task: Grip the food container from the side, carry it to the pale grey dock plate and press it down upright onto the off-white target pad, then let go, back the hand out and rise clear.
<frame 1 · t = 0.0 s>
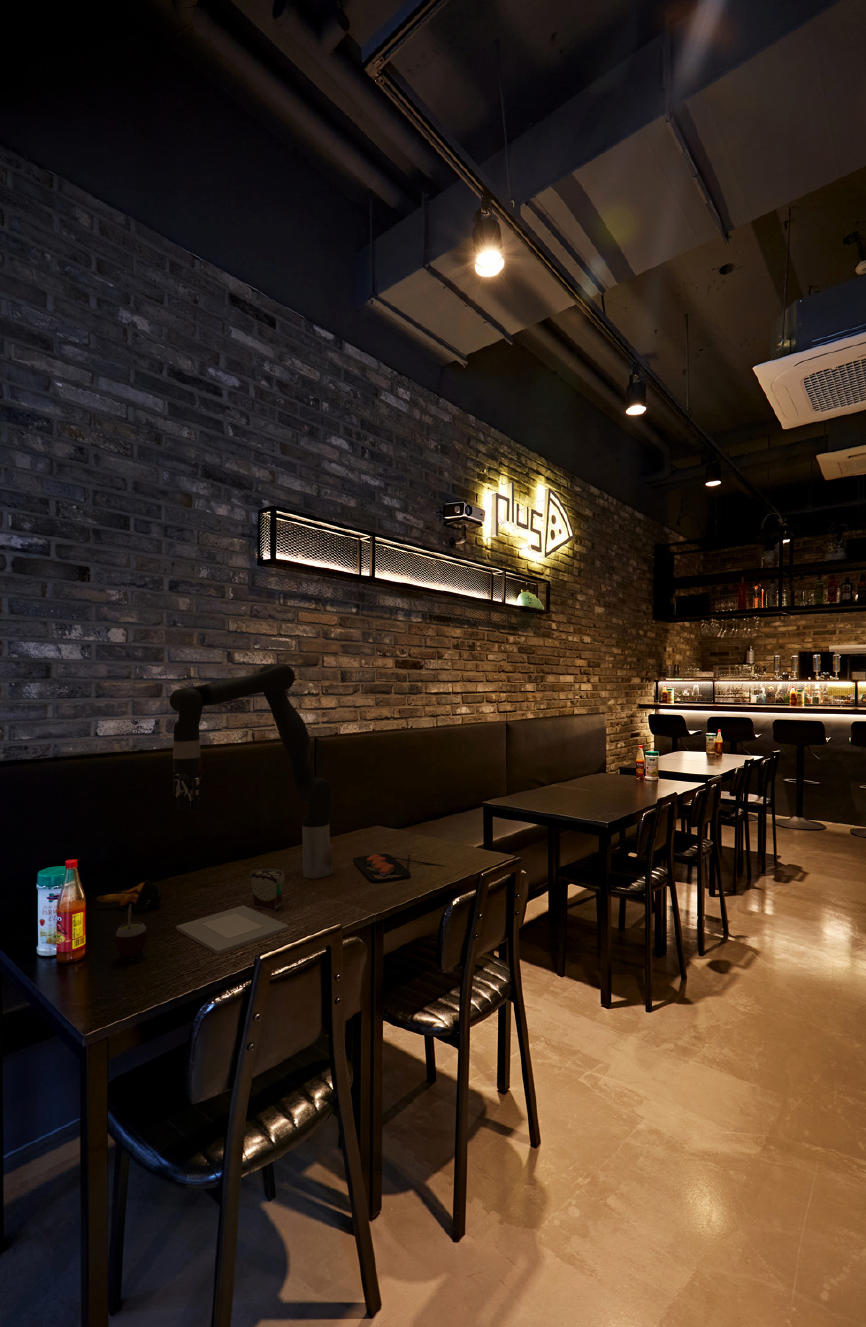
hand: (187, 811, 179), 29 cm above the table, tool pointing down, fingers open, 8 cm apart
mate gourd: (132, 960, 147), on the table
dock: (232, 929, 164), on the table
fried food: (131, 909, 182), on the table
sushi plate: (401, 868, 217), on the table
food container: (272, 906, 182), on the table
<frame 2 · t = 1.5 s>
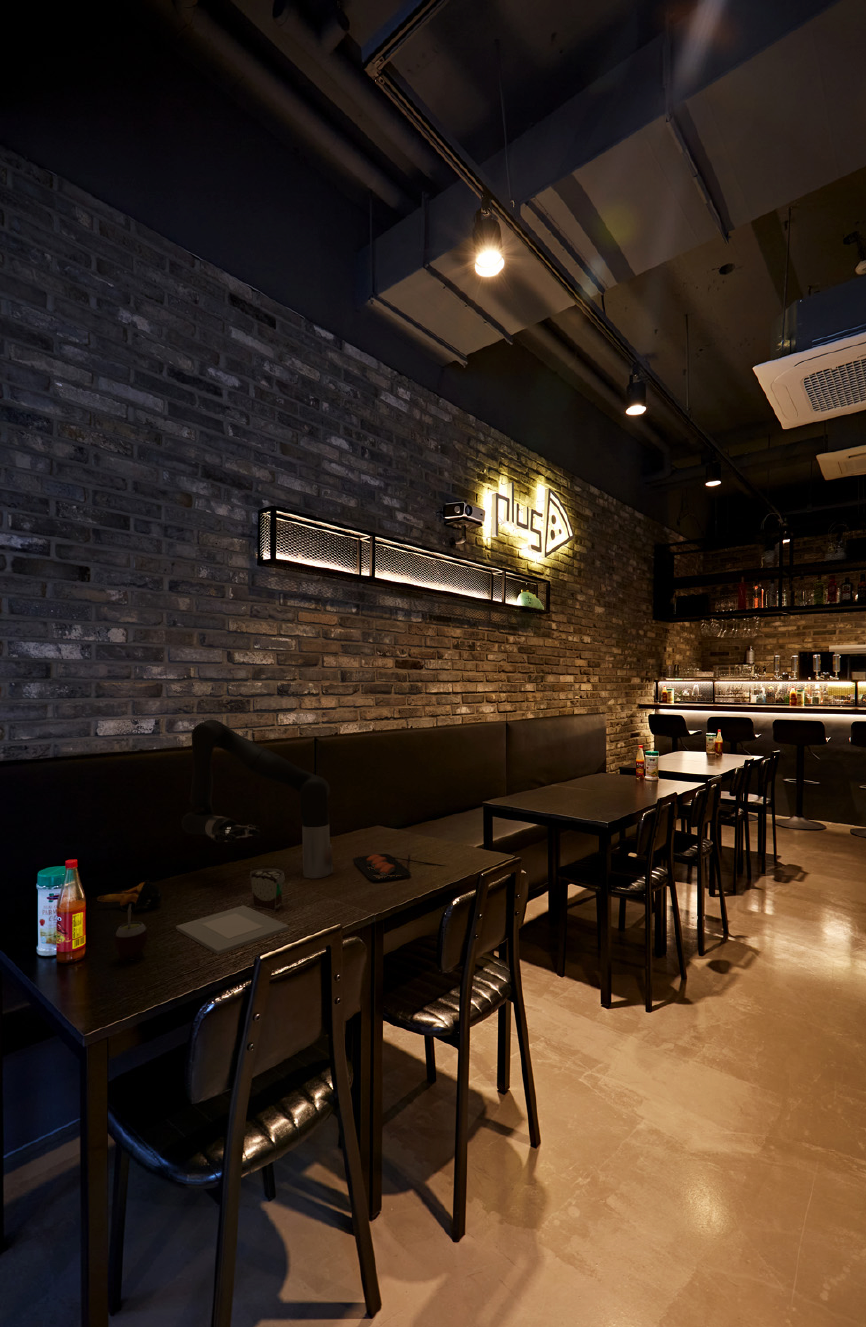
hand: (247, 836, 192), 18 cm above the table, tool horizontal, fingers open, 8 cm apart
nothing on the table moved.
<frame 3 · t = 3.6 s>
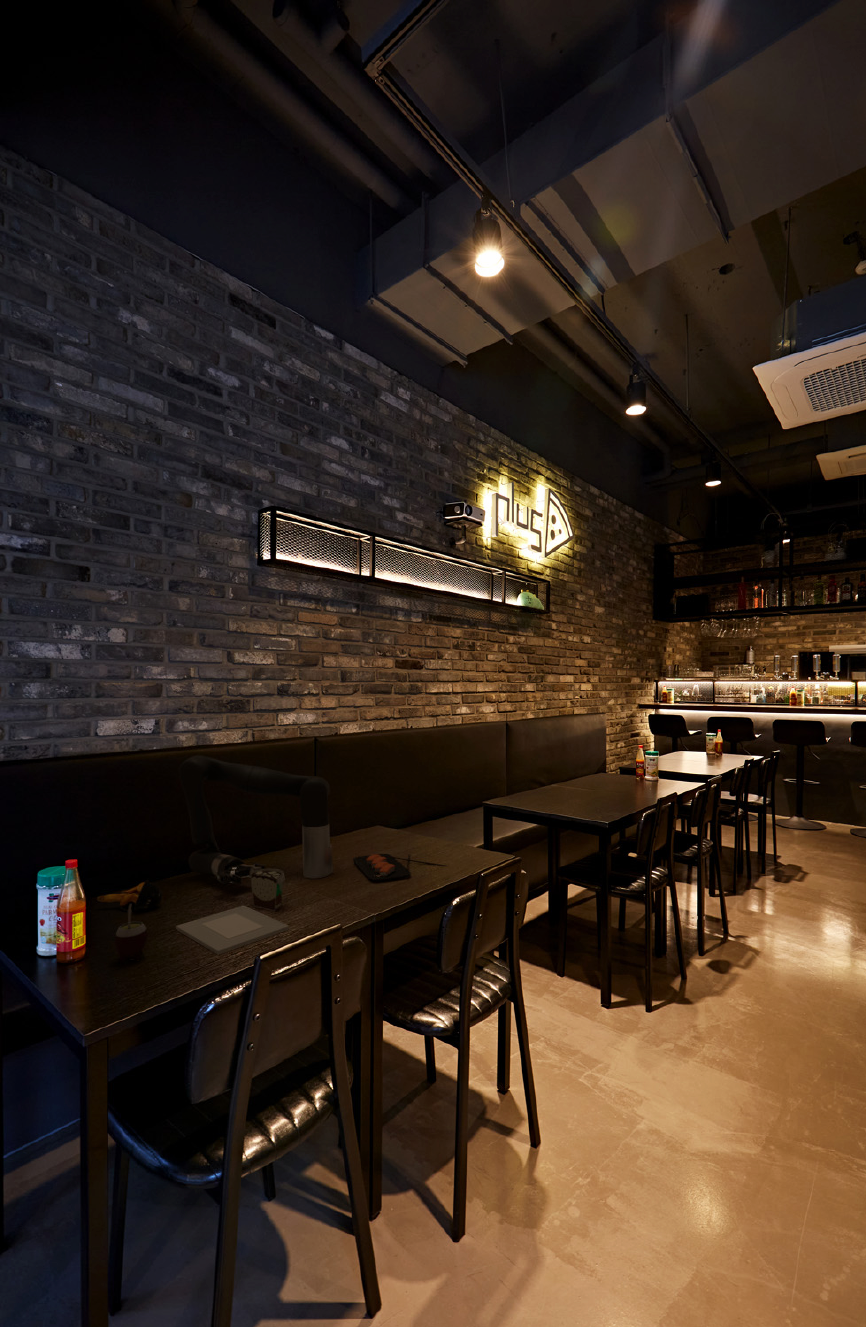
hand: (252, 877, 190), 6 cm above the table, tool horizontal, fingers open, 8 cm apart
nothing on the table moved.
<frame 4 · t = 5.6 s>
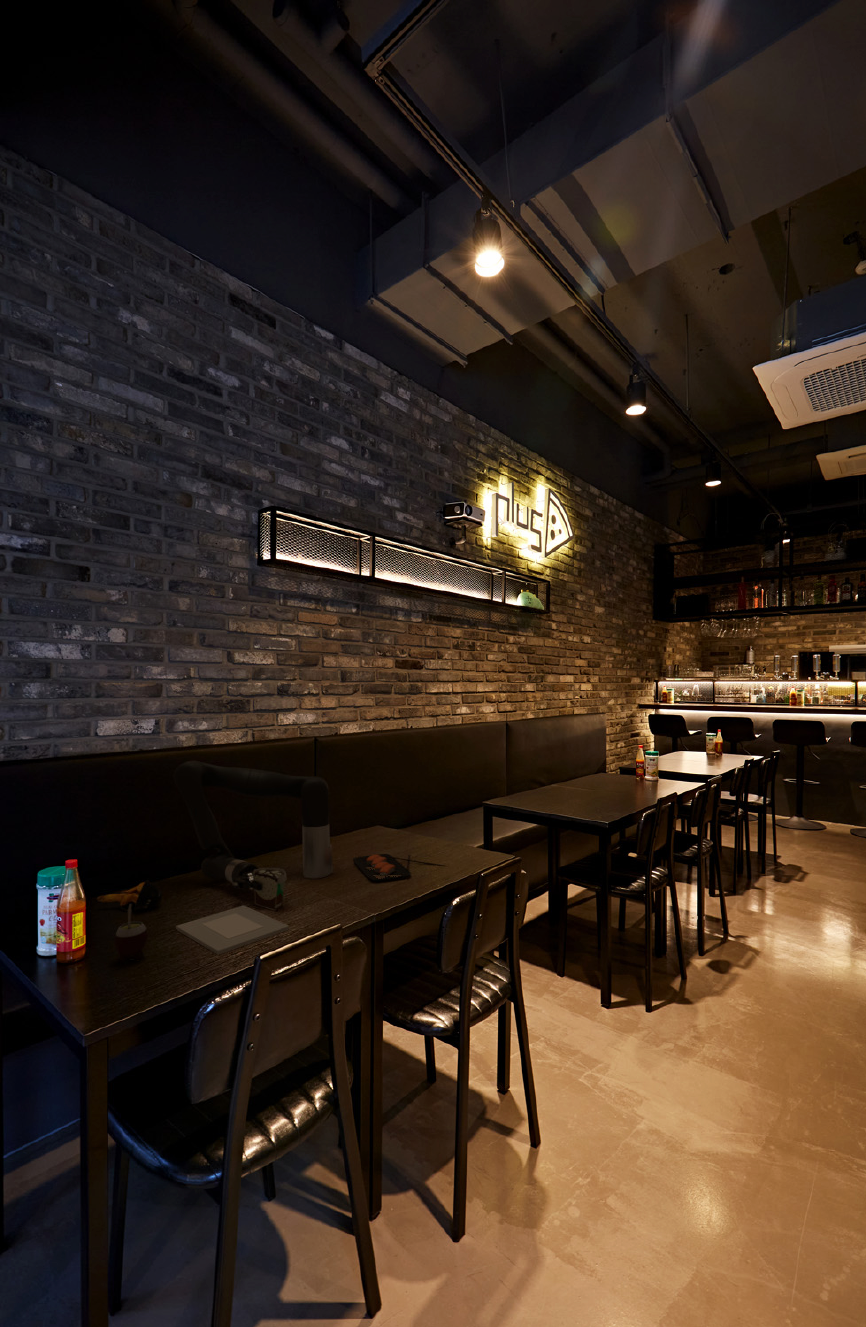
hand: (269, 884, 182), 6 cm above the table, tool horizontal, fingers open, 5 cm apart
food container: (273, 905, 182), on the table, touching gripper
everything else where it was.
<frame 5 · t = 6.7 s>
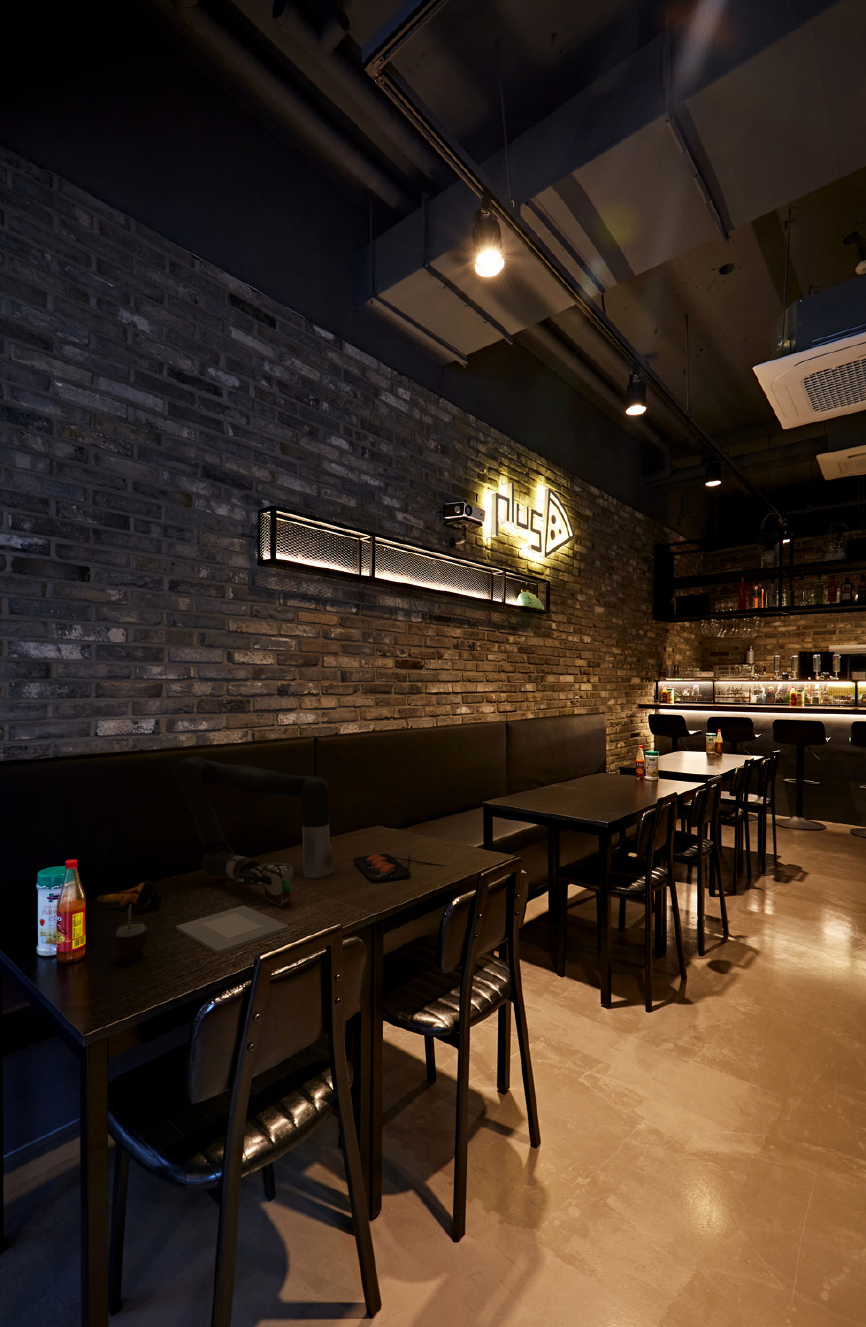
hand: (272, 881, 182), 7 cm above the table, tool horizontal, fingers closed on food container
food container: (281, 899, 184), point 1 cm above the table, touching gripper
everything else where it was.
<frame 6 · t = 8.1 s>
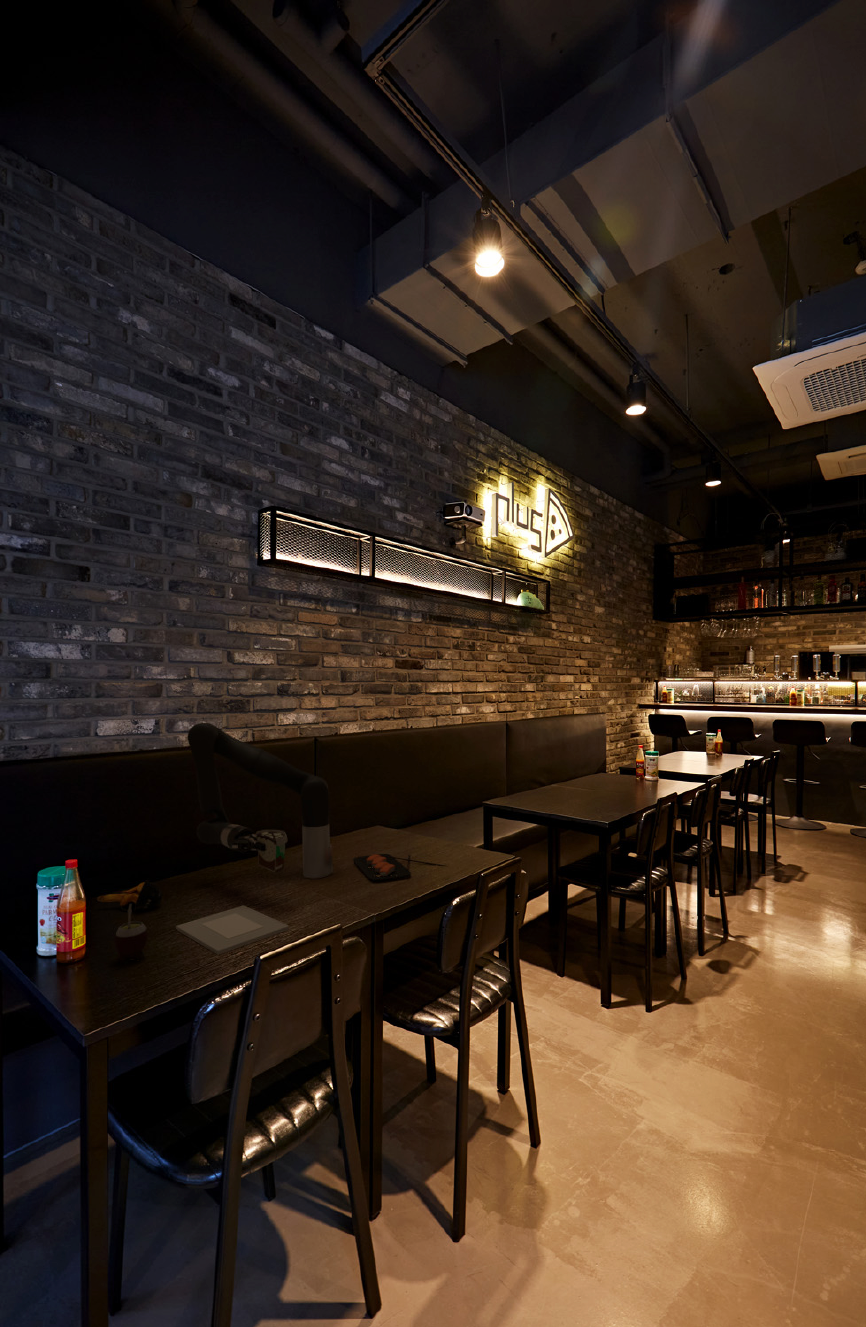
hand: (266, 847, 181), 18 cm above the table, tool horizontal, fingers closed on food container
food container: (275, 866, 182), point 11 cm above the table, touching gripper
everything else where it was.
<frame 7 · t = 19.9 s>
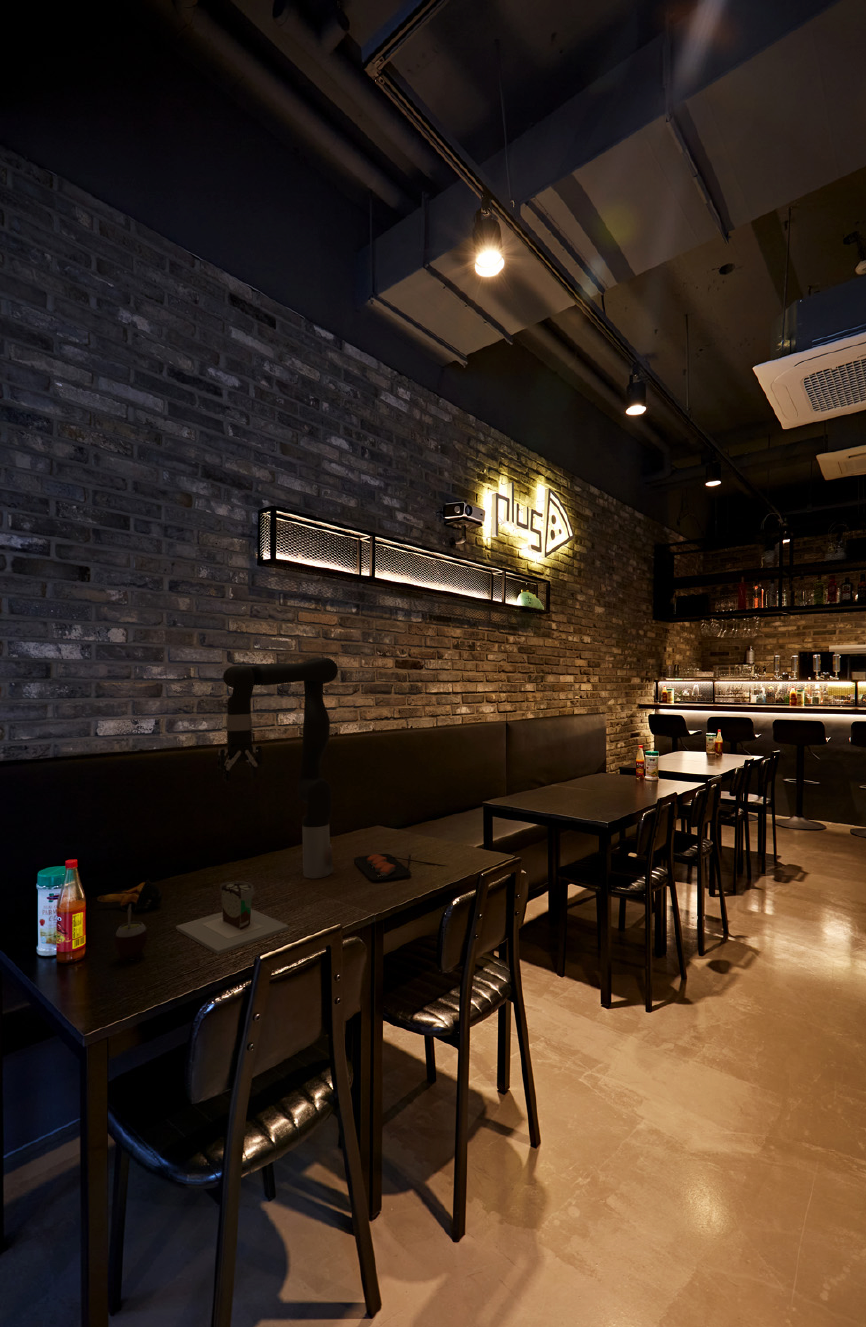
hand: (240, 780, 191), 36 cm above the table, tool pointing down, fingers open, 8 cm apart
food container: (241, 923, 166), point 1 cm above the table, touching dock
everything else where it was.
at the end: food container inside the target area on the dock (2.7 cm from its centre), point 1.0 cm above the dock's base; food container tilted 0°; the gripper is holding nothing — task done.
